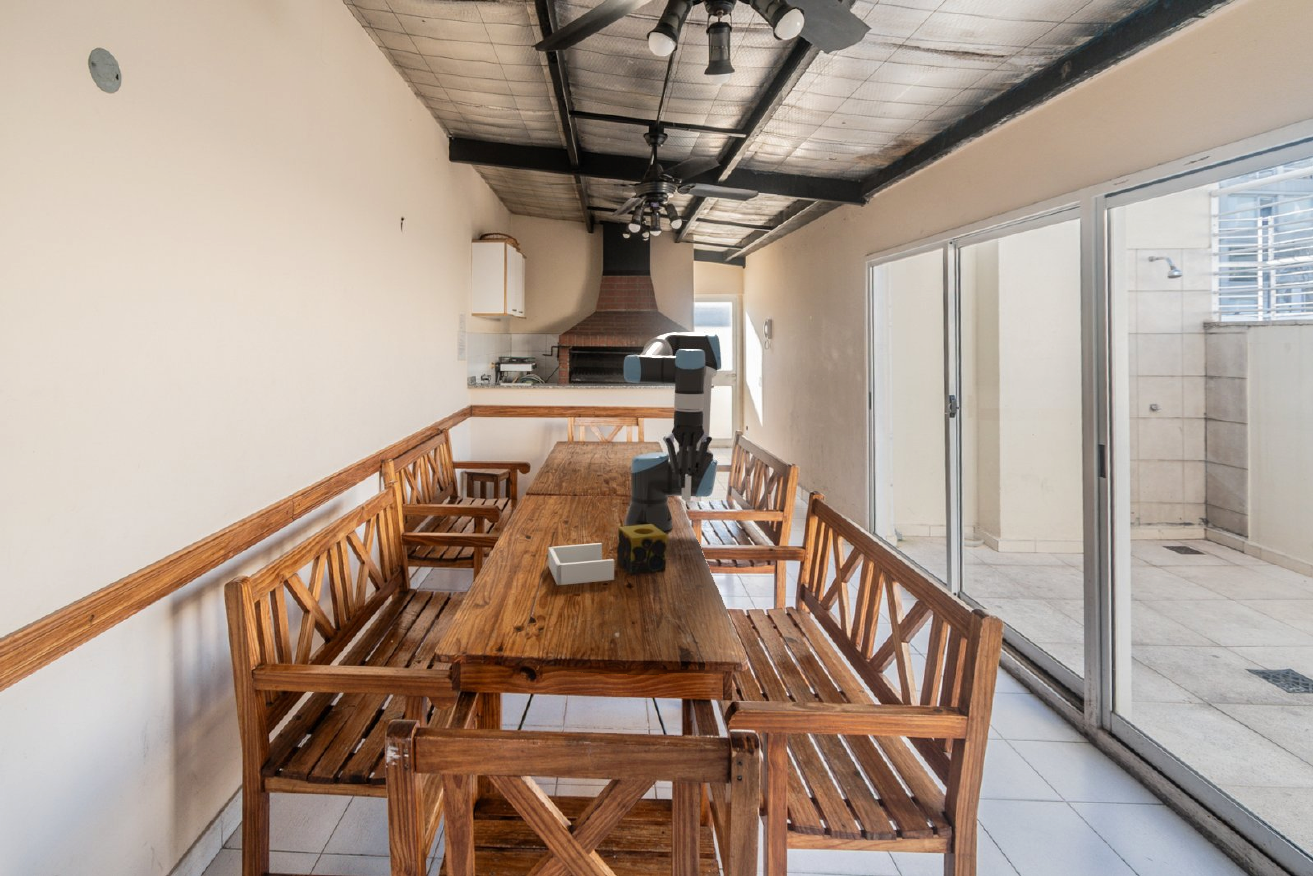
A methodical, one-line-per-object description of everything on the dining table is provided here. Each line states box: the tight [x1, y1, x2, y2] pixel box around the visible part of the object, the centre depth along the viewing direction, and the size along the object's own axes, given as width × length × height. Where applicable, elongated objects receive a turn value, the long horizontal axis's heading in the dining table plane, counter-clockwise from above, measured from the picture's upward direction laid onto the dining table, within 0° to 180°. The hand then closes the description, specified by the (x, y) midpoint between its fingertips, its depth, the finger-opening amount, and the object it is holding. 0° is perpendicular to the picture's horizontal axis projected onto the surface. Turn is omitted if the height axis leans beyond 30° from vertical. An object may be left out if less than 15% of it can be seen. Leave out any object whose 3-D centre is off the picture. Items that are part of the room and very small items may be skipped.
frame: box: [547, 542, 615, 586], centre depth 160 cm, size 14×14×5 cm
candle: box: [616, 524, 668, 576], centre depth 165 cm, size 10×10×10 cm
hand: (685, 499), depth 167 cm, fingers closed
